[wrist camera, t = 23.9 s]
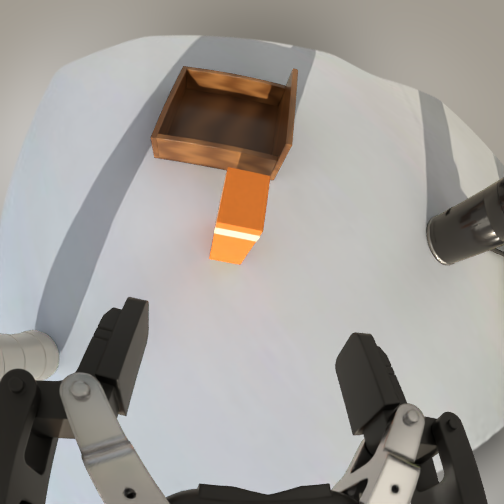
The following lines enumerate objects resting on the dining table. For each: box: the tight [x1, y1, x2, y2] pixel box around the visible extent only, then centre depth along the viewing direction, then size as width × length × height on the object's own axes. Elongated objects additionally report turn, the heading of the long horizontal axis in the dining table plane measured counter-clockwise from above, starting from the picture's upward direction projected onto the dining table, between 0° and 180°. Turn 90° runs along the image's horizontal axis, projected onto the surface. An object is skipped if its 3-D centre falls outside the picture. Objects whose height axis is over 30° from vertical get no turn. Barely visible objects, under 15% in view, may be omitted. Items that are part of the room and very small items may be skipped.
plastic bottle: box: [0, 330, 59, 381], centre depth 19 cm, size 6×7×20 cm
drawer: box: [151, 66, 298, 180], centre depth 38 cm, size 18×16×9 cm
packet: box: [209, 167, 270, 265], centre depth 32 cm, size 4×6×13 cm
